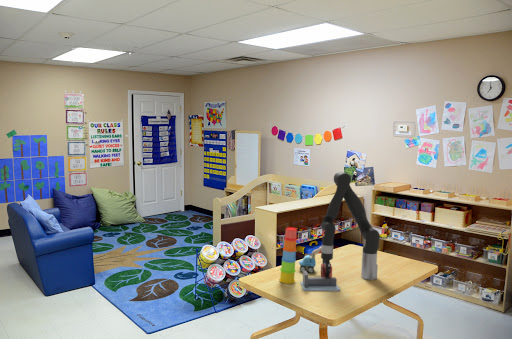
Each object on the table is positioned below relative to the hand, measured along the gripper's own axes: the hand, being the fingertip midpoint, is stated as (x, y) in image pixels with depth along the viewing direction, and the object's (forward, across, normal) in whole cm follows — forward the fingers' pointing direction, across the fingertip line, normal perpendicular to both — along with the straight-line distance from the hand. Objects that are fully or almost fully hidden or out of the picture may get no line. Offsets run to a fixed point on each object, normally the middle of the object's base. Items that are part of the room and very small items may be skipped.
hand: (326, 276), depth 258 cm
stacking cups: (+2, -4, +26) cm, 26 cm away
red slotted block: (+2, 0, 0) cm, 2 cm away
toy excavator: (+2, +15, +7) cm, 17 cm away
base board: (+2, -13, +7) cm, 15 cm away
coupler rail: (+2, -13, +7) cm, 15 cm away
